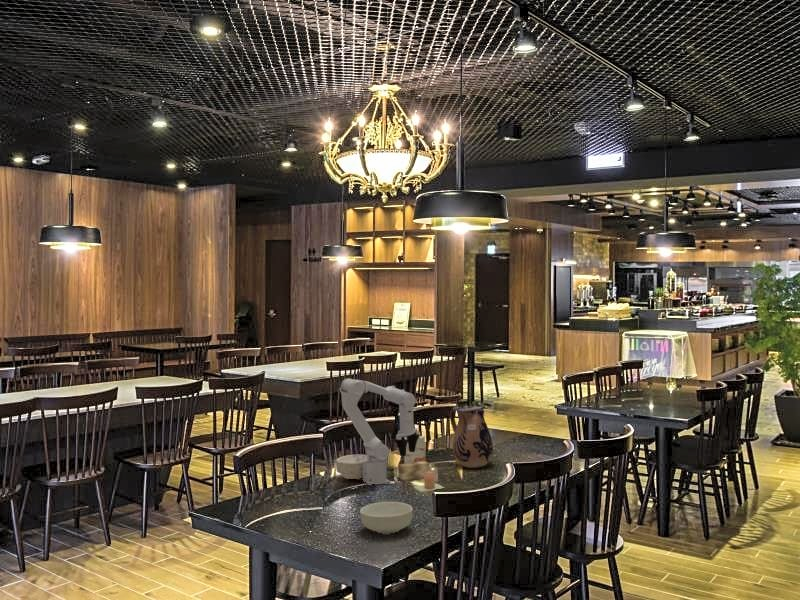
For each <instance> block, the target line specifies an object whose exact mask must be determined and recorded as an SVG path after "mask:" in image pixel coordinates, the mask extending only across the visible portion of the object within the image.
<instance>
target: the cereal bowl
mask: <svg viewBox="0 0 800 600" xmlns="http://www.w3.org/2000/svg"><path fill="white" fill-rule="evenodd" d="M413 513H414V509H413V507H412V505H410V504H408V503H405V502H400V501H399V502H398V501H381V502H379V501H378V502H373V503H370V504H367V505H364V506H363V507H362V508H360V510H359V517H360V520H361V523H362V525H363V526H364V527H365V528H366V529H368V530H371V532H375V531H376V532H378V533H377V534H379V533H382V534H381V535H391V534H390V533H394V534H395V532H397V533H398V532H399V531H400V530H403V529H405V528H406V527H408V526H409V525H410V523H411V522H412V520H413V515H414V514H413ZM376 532H375V533H376Z"/></svg>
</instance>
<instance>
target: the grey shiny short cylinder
mask: <svg viewBox="0 0 800 600" xmlns="http://www.w3.org/2000/svg"><path fill="white" fill-rule="evenodd" d="M428 471H434V476H435V484H436V483H438V484H439V467H437V466H429V467H428Z"/></svg>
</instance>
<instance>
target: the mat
mask: <svg viewBox="0 0 800 600" xmlns="http://www.w3.org/2000/svg"><path fill="white" fill-rule="evenodd" d="M442 488H445V487H444V486H442V485H441V484H439V483H438V484H437V483H436V484H435V488H433V489H426V488H425V486H424V485H416V486H415V485H414V486H413V489H415V491H418V492H419V493H421V494H422V493H428V492H429V493H430V492H435V491H434V490H436V489H442Z"/></svg>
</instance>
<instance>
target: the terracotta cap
mask: <svg viewBox="0 0 800 600" xmlns="http://www.w3.org/2000/svg"><path fill="white" fill-rule="evenodd" d="M423 481H424V482H423V484H424V486H425V488H426V489H433V488H435V476H434V471H425V472H424V480H423Z"/></svg>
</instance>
